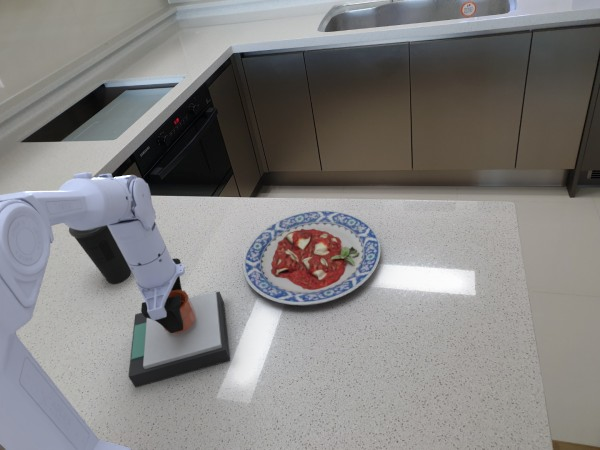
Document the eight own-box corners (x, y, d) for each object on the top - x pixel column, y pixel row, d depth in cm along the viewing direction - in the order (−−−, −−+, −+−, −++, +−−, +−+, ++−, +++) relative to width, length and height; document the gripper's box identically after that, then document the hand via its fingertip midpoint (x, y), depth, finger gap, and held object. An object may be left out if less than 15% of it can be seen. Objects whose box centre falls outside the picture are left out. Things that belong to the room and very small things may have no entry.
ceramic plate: (219, 294, 84) (215, 282, 82) (283, 211, 101) (281, 200, 99) (352, 329, 73) (350, 316, 71) (398, 229, 90) (397, 217, 88)
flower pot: (163, 339, 71) (152, 320, 69) (164, 313, 76) (154, 294, 73) (197, 329, 72) (188, 310, 69) (196, 304, 76) (187, 285, 74)
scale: (135, 387, 71) (126, 373, 69) (140, 324, 81) (133, 311, 79) (230, 360, 72) (224, 346, 70) (223, 302, 82) (218, 288, 80)
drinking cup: (143, 261, 95) (103, 180, 83) (128, 288, 89) (82, 205, 77) (110, 263, 97) (66, 183, 85) (93, 289, 91) (42, 208, 79)
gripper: (172, 278, 59) (203, 344, 67) (174, 216, 71) (200, 278, 79) (118, 293, 59) (156, 357, 67) (128, 227, 70) (159, 289, 78)
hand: (177, 315), depth 73 cm, fingers closed on flower pot, 5 cm apart
